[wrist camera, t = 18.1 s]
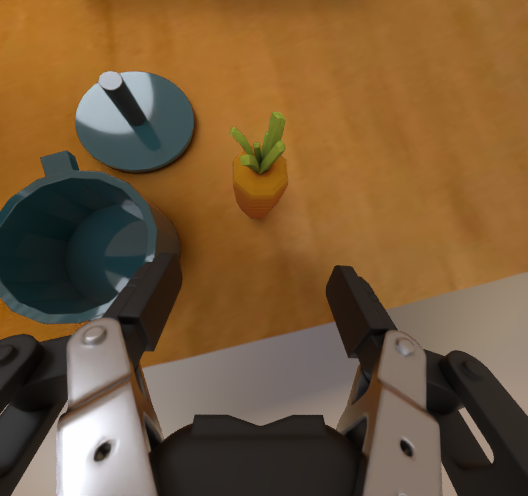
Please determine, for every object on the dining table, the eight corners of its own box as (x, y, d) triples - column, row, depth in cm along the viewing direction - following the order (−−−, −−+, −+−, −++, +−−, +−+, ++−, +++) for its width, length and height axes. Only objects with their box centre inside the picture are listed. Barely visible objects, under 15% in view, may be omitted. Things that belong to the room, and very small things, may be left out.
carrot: (245, 237, 26) (246, 180, 11) (229, 204, 26) (210, 108, 12) (278, 222, 27) (321, 150, 12) (262, 190, 27) (284, 84, 12)
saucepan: (86, 353, 22) (14, 387, 15) (42, 202, 24) (-39, 171, 17) (203, 303, 24) (187, 313, 17) (153, 168, 26) (121, 128, 19)
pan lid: (101, 189, 25) (54, 160, 19) (69, 94, 27) (17, 39, 20) (210, 155, 27) (201, 120, 21) (175, 69, 29) (157, 13, 23)
